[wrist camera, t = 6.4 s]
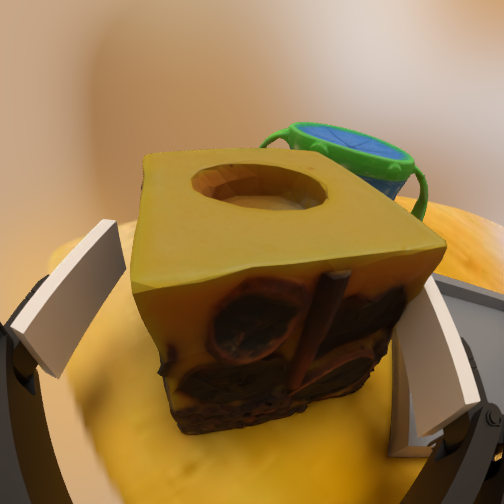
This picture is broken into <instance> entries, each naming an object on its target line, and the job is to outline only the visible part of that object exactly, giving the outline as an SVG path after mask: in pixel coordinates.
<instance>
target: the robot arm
mask: <svg viewBox="0 0 504 504" xmlns="http://www.w3.org/2000/svg"><path fill="white" fill-rule="evenodd" d="M125 270H126V266H125V261H124V257H123V252H122V248H121V243H120V238H119V233H118V227H117V222H116V221H114V220H105V219H103V220H102V221H100V222H99V223H98V225H96V226H95V227H94V228H93V229H92V230H91V231H90V232H89V233H88V234H87V235H86V236H85V237H84V238H83V239H82V240H81V241H80V243H79V244H78V245H77V246H76V247H75V248H74V249H73V250H72V251H71V252H70V253H69V254H68V255H67V256H66V257H65V259H64V260H63V261H62V262H61V263H60V264H59V265H58V266H57V268H56V269H55V270H54V271H53V272H52V273H51V274H50V275H49V274H48V275H47V276H45V277H44V278H42V279H41V280H40V281H38V282H37V284H36V285H35V286H34V287H33V288H32V290H31V292H29V293H28V295H27V296H26V297H25V299H24V300H23V301H22V302H21V303H20V305H19V306H18V307H17V309H16V310H15V311H14V313H13V314H12V315H11V317H10V318H9V320H8V321H7V322H6V324H5V325H4V326H3V325H2V324H1V322H0V504H73V503H72V500H71V498H70V496H69V493H68V491H67V488H66V485H65V483H64V480H63V478H62V475H61V472H60V469H59V466H58V463H57V460H56V456H55V453H54V450H53V446H52V442H51V439H50V435H49V431H48V426H47V422H46V417H45V412H44V407H43V401H42V396H41V389H40V382H39V375H38V371H37V369H36V367H37V365H38V364H39V365H40V367H41V368H42V369H43V370H44V371H45V372H46V373H48V374H49V375H51V376H53V377H55V378H57V379H59V378H60V376H61V374H62V372H63V370H64V368H65V367H66V365H67V363H68V361H69V359H70V358H71V356H72V354H73V352H74V350H75V349H76V347H77V345H78V343H79V342H80V340H81V338H82V337H83V335H84V333H85V332H86V330H87V328H88V327H89V325H90V323H91V322H92V320H93V319H94V317H95V315H96V314H97V312H98V311H99V309H100V308H101V306H102V304H103V303H104V301H105V300H106V298H107V297H108V295H109V294H110V292H111V291H112V289H113V288H114V286H115V285H116V283H117V282H118V280H119V279H120V277H121V276H122V275H123V273H124V272H125ZM396 330H397V334H398V338H399V342H400V346H401V350H402V354H403V358H404V362H405V367H406V371H407V376H408V381H409V386H410V391H411V397H412V402H413V408H414V415H415V421H416V429H417V437H424V436H429V435H433V434H435V433H437V432H438V431H440V430H441V429H443V433H444V434H443V435H441V436H439V437H438V438H436V439H434V440H433V441H431V442H430V443H429V444H428V445H427V446H428V447H430V446H432V445H433V444H435V443H436V445H435V446H434V447H433V448H431V449H432V450H433V451H432V452H431V454H430V456H429V458H428V460H427V462H426V463H425V465H424V467H423V468H422V470H421V472H420V473H419V475H418V477H417V478H416V480H415V482H414V483H413V485H412V486H411V488H410V489H409V491H408V492H407V494H406V495H405V497H404V498H403V499H402V501H401V502H400V504H504V414H502V413H501V411H500V409H499V407H498V406H497V405H496V404H494V403H488V400H487V397H486V393H485V390H484V387H483V383H482V380H481V377H480V374H479V371H478V369H477V365H476V362H475V360H474V356H473V354H472V351H471V348H470V346H469V345H468V344H467V342H466V341H465V339H464V338H463V337H459V334H458V332H457V329H456V327H455V324H454V322H453V320H452V317H451V315H450V313H449V310H448V308H447V306H446V304H445V302H444V300H443V297H442V295H441V293H440V291H439V289H438V287H437V285H436V283H435V281H434V279H433V277H432V275H431V276H430V277H429V278H428V280H427V281H426V283H425V285H424V287H423V288H422V290H421V292H420V294H418V295H417V296H416V297H415V298H414V299H413V300H412V301H411V302H409V303H408V305H407V307H406V309H405V311H404V312H403V314H402V316H401V318H400V320H399V321H398V323H397V325H396ZM501 452H503V453H502V458H501V459H499V460H497V461H495V460H494V458H495V456H496V455H497V454H499V453H501Z"/></svg>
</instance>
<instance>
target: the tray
mask: <svg viewBox="0 0 504 504" xmlns="http://www.w3.org/2000/svg"><path fill="white" fill-rule="evenodd" d="M431 275H432V277H433V279H434V281H435V283H436V285H437V287H438V289H439V291H440V293H441V295H442V297H443V300H444V302H445V304H446V306H447V308H448V310H449V313H450V315H451V317H452V320H453V322H454V324H455V327H456V329H457V332H458V334H459V337H463V338H464V339H465V341H466V342H467V344H468V345H469V346H470V348H471V351H472V354H473V356H474V360H475V362H476V365H477V369H478V371H479V374H480V377H481V380H482V383H483V387H484V390H485V393H486V397H487V400H488V403H494V404H496V405H497V406H498V407H499V409H500V411H501V413H502V414H504V295H503V294H500V293H497V292H494V291H491V290H487V289H484V288H481V287H478V286H475V285H472V284H469V283H465V282H462V281H459V280H456V279H452V278H449V277H446V276H443V275H439V274H436V273H432V274H431ZM392 351H393V396H392V417H391V431H390V442H389V451H388V457H429V456H430V454H431V452H432V451H433V450H432V449H431V448H433V447H434V446H435V445H436V443H435V444H433V445H432V446H430V447H428V446H427V445H428V444H429V443H430V442H431V441H433V440H434V439H436V438H438V437H439V436H441V435H443V434H444V433H443V429H441V430H440V431H438V432H437V433H435V434H433V435H429V436H424V437H417V429H416V421H415V415H414V408H413V402H412V397H411V391H410V386H409V381H408V376H407V371H406V367H405V362H404V358H403V354H402V350H401V346H400V342H399V338H398V334H397V330H396V328H395V330H394V333H393V336H392Z"/></svg>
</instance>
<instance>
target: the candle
mask: <svg viewBox="0 0 504 504" xmlns="http://www.w3.org/2000/svg"><path fill="white" fill-rule="evenodd" d="M141 190H142V191H141V198H140V208H139V217H138V221H137V225H136V230H135V235H134V241H133V248H132V255H131V263H130V277H131V287H132V294H133V297H134V300H135V302H136V305H137V308H138V310H139V313H140V315H141V318H142V320H143V322H144V324H145V326H146V328H147V330H148V332H149V333H150V335H151V337H152V339H153V341H154V342H155V344H156V346H157V348H158V351H159V355H160V362H161V366H160V369H159V371H158V372H157V374H159V375H160V376H163V381H164V387H165V391H166V394H167V398H168V401H169V406H170V412H171V415H172V417H173V418H174V420H175V421H176V422H178V423H177V426H178V427H179V429H180V430H181V432H184V433H187V434H201V433H207V432H213V431H219V430H225V429H230V428H234V427H238V428H243V427H244V426H249V425H256V424H259V423H263V422H266V421H269V420H271V419H279V418H283V417H286V416H290V415H293V414H294V412H295V411H299V412H304V411H305V409H306V408H307V404H308V403H310V402H311V401H314V400H320V399H326V398H329V397H332V396H345V395H346V394H348V393H354V392H355V391H356V390H358V389H360V388H362V386H363V385H364V383H365V382H366V380H367V379H368V378H369V377H370V372H372V371H374V367H375V366H376V365H377V364H379V362H380V360H381V358H382V357H383V356H385V355H386V354H387V350H388V344H389V342H390V340H391V338H392V336H393V333H394V330H395V328H396V325H397V323H398V321H399V320H400V318H401V316H402V314H403V312H404V311H405V309H406V307H407V305H408V303H409V302H411V301H412V300H413V299H414V298H415V297H416V296H417V295H418V294H420V292H421V290H422V288H423V287H424V285H425V283H426V281H427V280H428V278H429V277H430V276H431V274H432V273H433V271H434V270H435V269H436V267H437V266H438V265H439V263H440V262H441V261H442V258H443V256H444V254H445V251H446V249H447V243H446V240H445V239H443V238H442V237H441V236H439V235H438V234H437V233H435V232H434V231H433V230H432V229H430V228H429V227H428V226H426V225H425V224H424V223H423V222H421V221H420V220H419V219H417V218H416V217H415V216H414V215H412V214H411V213H410V212H408V211H407V210H406V209H404V208H403V207H401V206H400V205H399V204H397V203H396V202H394V201H393V200H392V199H390V198H389V197H387V196H386V195H384V194H383V193H381V192H380V191H378V190H377V189H376V188H374V187H373V186H371V185H370V184H368V183H367V182H365V181H364V180H362V179H361V178H359V177H358V176H356V175H355V174H353V173H352V172H350V171H349V170H347V169H346V168H344V167H342V166H341V165H339V164H338V163H336V162H334V161H333V160H331V159H329V158H327V157H326V156H324V155H322V154H320V153H318V152H315V151H306V150H292V149H276V148H237V149H236V148H235V149H206V150H191V151H176V152H162V153H151V154H149V155H145V156H144V158H143V182H142V186H141Z"/></svg>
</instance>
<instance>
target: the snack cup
mask: <svg viewBox="0 0 504 504" xmlns="http://www.w3.org/2000/svg"><path fill="white" fill-rule="evenodd" d="M278 138H282V139H284V140H285V141H286V142H287V143H288V144H289V146H290V149H292V150H306V151H315V152H318V153H320V154H322V155H324V156H326V157H327V158H329V159H331V160H333V161H334V162H336V163H338V164H339V165H341V166H342V167H344V168H346V169H347V170H349V171H350V172H352V173H353V174H355V175H356V176H358V177H359V178H361V179H362V180H364V181H365V182H367V183H368V184H370V185H371V186H373V187H374V188H376V189H377V190H378V191H380V192H381V193H383V194H384V195H386V196H387V197H389V198H390V199H392V200H393V201H394V199H395V197H396V195H397V193H398V192H399V191H400V189H401V188H402V187H403V185H404V184H405V182H406V181H407V179H408V178H409V177H410V175H411V174H413V173H415V174H416V177H417V179H418V181H419V183H420V196H419V199H418V200H417V202H416V204H415V206H414V208H413V210H412V212H411V214H412V215H414V216H415V217H416V218H417V219H419V220H420V221H421V222H422V221H423V218H424V215H425V212H426V208H427V202H428V185H427V182H426V179H425V175H423V173H422V172H421V171H420V170H419V169H418V168H417V167H416V166H415V163H414V159H413V158H412V157H411V156H410V155H409V154H408V153H406V152H405V151H403V150H401V149H400V148H398V147H396V146H394V145H392V144H390V143H387V142H385V141H382V140H380V139H377V138H375V137H372V136H369V135H366V134H363V133H360V132H357V131H354V130H350V129H346V128H341V127H337V126H332V125H327V124H320V123H311V122H298V123H293V124H291V125H290V126H289V127H288V128H286V129H283V130H279V131H277V132H275V133H273V134H272V135H270V136H269V137H268V138H267V139H265V141H264V142H263V143H262V144H261V146H260V147H259V148H266V147H267V145H269V144H270V143H271V142H273V141H275V140H276V139H278Z"/></svg>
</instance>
